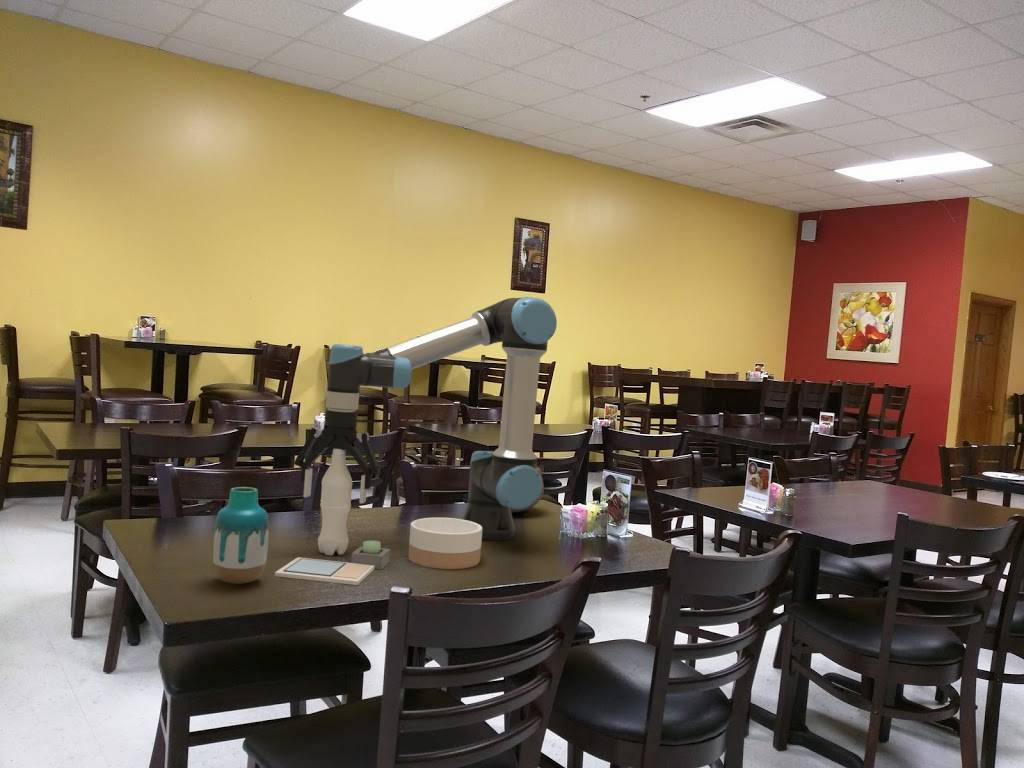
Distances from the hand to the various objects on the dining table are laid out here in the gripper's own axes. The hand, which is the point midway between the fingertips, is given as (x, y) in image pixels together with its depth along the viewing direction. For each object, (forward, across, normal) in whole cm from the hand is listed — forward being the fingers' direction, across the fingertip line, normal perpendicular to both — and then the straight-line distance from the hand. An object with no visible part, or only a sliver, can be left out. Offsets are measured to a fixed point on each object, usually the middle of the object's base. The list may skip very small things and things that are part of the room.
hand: (334, 499), depth 197 cm
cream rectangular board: (+13, -4, +16) cm, 21 cm away
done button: (+11, -11, +6) cm, 17 cm away
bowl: (+13, -26, -5) cm, 30 cm away
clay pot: (+12, -34, -68) cm, 77 cm away
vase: (+13, +10, +29) cm, 33 cm away
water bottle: (+13, 0, 0) cm, 13 cm away
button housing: (+13, -11, +6) cm, 18 cm away
